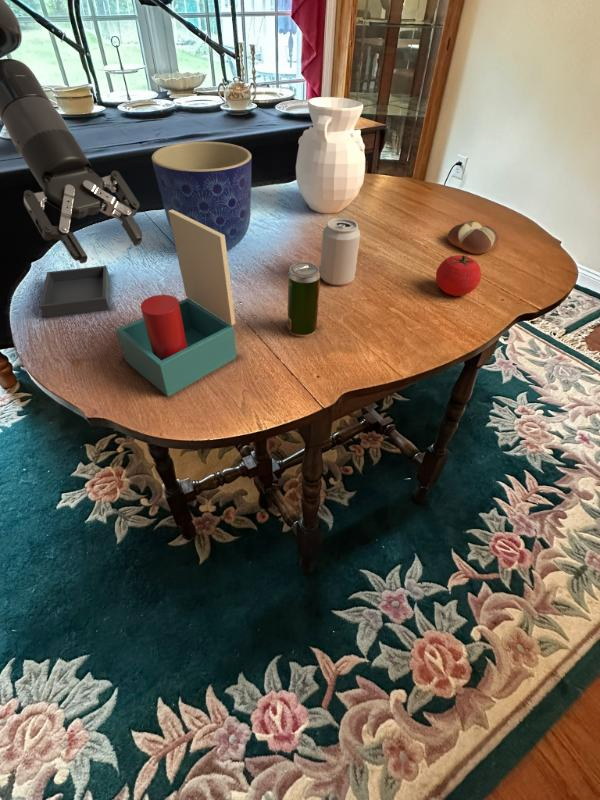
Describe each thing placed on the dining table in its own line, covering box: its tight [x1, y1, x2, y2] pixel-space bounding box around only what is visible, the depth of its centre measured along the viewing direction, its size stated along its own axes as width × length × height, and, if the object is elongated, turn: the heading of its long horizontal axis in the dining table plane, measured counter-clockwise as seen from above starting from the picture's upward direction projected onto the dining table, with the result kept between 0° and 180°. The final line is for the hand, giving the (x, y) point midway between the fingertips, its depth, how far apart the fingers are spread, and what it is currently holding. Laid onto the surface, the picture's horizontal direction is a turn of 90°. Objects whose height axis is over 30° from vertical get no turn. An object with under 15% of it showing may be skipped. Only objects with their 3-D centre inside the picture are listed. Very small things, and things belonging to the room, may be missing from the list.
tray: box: [39, 265, 111, 319], centre depth 84 cm, size 11×13×3 cm
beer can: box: [286, 261, 321, 338], centre depth 75 cm, size 5×5×12 cm
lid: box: [168, 210, 236, 326], centre depth 66 cm, size 14×12×1 cm
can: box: [319, 217, 361, 287], centre depth 89 cm, size 8×8×12 cm
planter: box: [151, 141, 253, 250], centre depth 97 cm, size 21×21×19 cm
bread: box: [446, 220, 499, 255], centre depth 106 cm, size 11×11×5 cm
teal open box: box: [115, 297, 237, 397], centre depth 70 cm, size 14×12×6 cm
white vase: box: [295, 96, 366, 214], centre depth 113 cm, size 19×18×25 cm
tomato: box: [435, 254, 482, 297], centre depth 88 cm, size 9×9×8 cm
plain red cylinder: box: [140, 294, 187, 361], centre depth 65 cm, size 5×5×12 cm
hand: (112, 251), depth 63 cm, fingers open, 8 cm apart
